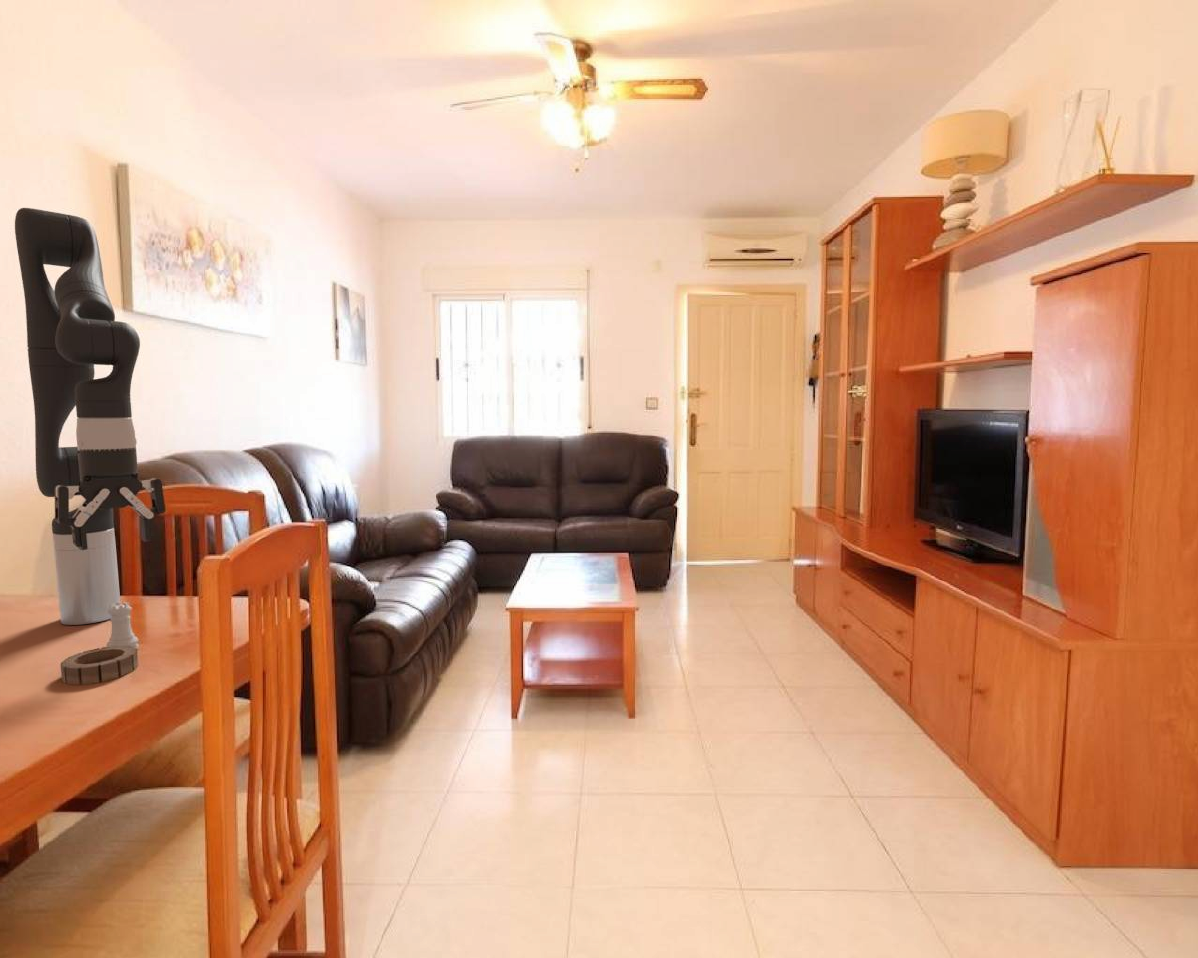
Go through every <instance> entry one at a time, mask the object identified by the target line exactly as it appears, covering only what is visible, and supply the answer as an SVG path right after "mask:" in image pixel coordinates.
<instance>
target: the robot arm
mask: <svg viewBox="0 0 1198 958" xmlns="http://www.w3.org/2000/svg"><path fill="white" fill-rule="evenodd" d="M14 218H15V219H14V233H15V234H14V235H15V242H16V249H17V254H18V255H17V256H18V263H19V266H20V267H19V268H20V275H21V281H22V288H23V295H24V304H25V317H26V322H25V323H26V337H27V339H26V343H27V344H26V345H27V356H28V357H27V358H28V365H29V366H28V368H29V375H30V382H31V389H32V390H31V391H32V397H33V398H32V399H33V407H34V409H33V410H34V427H35V428H34V430H35V431H34V432H35V435H34V437H35V438H34V439H35V440H34V441H35V444H34V445H35V475H36V476H35V477H36V482H37V486H38V489H39V491H40V493H41V494H42V496H44V497H47V498H54V518H53V519H52V520H51V521H52V522H51V530H52V541H53V542H52V543H53V544H52V545H53V549H54V550H53V551H54V563H55V574H56V575H55V576H56V582H57V585H56V586H57V594H58V596H57V597H58V606H59V607H58V608H59V614H60V615H59V616H60V623H61V624H63V625H65V626H67V625H68V626H71V625H72V626H73V625H74V626H75V625H76V626H77V625H87V624H93V623H99V622H104V621H109V620H111V618H112V616H111V615H110V614H109V613H108V611H109V609H110V606H111V605H112V604H115V606H117V605H116V603H120V604H121V595H120V594H121V593H120V581H119V569H118V558H117V557H118V556H117V548H116V545H117V544H116V536H115V533H116V532H115V523H114V508H116V509H124V508H126V507H128V506H129V508H131V509H133V511H135V512H136V513H137V514H138V515H139V516H140V518H139V528H140V529H139V530H140V539H141V541H143V542H150V541H151V538H153V537H154V535H155V530H154V518H155V517H156V516H158V515H160V514H161V515H162V514H165V512H166V510H167V509H166V503H165V497H164V490H163V482H162V480H161V479H160V478H154V477H151V478H149V479H145V480H141V479H140V477H139V471H138V470H139V469H138V458H137V457H138V455H137V443H138V442H137V439H136V431H135V427H134V423H133V418H132V413H133V412H132V403H131V402H132V401H131V388H132V387H131V385H132V379H133V374H134V370H135V367H136V363H137V360H138V357H139V352H140V347H141V339H140V336H139V335H138V332H137V331H136V329H135V328H134V327H133V326H132V325H131V324H129V323H127V322H123V321H116V316H115V310H114V308H113V305H112V303H111V300H110V297H109V295H108V293H107V289H106V287H105V282H104V272H103V265H102V259H101V254H100V248H99V247H100V246H99V241H98V237H97V234H96V231H95V229H94V227H93V225H92V224H91V223H90V221H88V220H87V219H85V218H83V217H80V216H76V215H71V214H67V213H62V212H61V213H60V212H55V211H49V210H44V209H39V208H38V209H37V208H31V207H22V208H19V209H18V210H17V212H16V214H15V217H14ZM44 265H48V266H54V267H55V266H57V267H65V268H68V269H67V270H65V271H64V272H63V273H62V274H61V275H60V276H59V278H58V279H57V280H56V281H55V286H54V288H53V287H52V285H51V283H50V280H49V278H48V275H47V273H46V270H45V266H44ZM95 365H96V366H98V365H99V366H112V370H111V372H110V373H109V375H106V376H105V377H100V378H96V379H95V375H96V374H95ZM74 409H75V411H76V412H75V413H76V417H77V418H76V432H75V434H76V446H63V447H62V446H60V444H59V443H60V437H61V434H62V430H63V428H64V425H65V424H66V421H67V420H68V418H69V416H70V414H71V412H72V411H73V410H74ZM142 488H144V489H145V491H146V492H148V493H149V496H150V504H151V507H150V508H148V507H147V506H146V505H145V503H144V502H143V501H141V499H140V498H138V497H137V495H138V494H139V493H140V491H141V490H142ZM76 496H81V497H83V499H84V501H83V502H82V503H81V504H80V505H79V507H77V508H75V509H72V510H71V511H70V502H69V501H70V500H72V499H74V497H76Z"/></svg>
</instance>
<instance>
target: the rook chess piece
mask: <svg viewBox="0 0 1198 958" xmlns="http://www.w3.org/2000/svg"><path fill="white" fill-rule="evenodd" d="M116 605H117V606H115V604H112V605H111V606H110V609H109V611H108V613H109V614H110V615H111V616H112V618H111V619H109V622H111V633H110V637H109V640H108V641H107V643H106V646H105V647H111V646H117V647H118V646H131V647H134V648H136V649H137V650H138V648H139V647H140V644H138V642H139V639H138V637H137V636H135V635H136V634H135V633H134V632H133V628H132V626H131V618H132V616H131V615H130V612H132V609H133V607H131V606H130V602H127V601H124V602H122V604H121V602H120V603H116Z"/></svg>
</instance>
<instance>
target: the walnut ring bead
mask: <svg viewBox="0 0 1198 958" xmlns="http://www.w3.org/2000/svg"><path fill="white" fill-rule="evenodd" d="M138 666H139V658H138V649H136V648H134V647H131V646H118V647H117V646H111V647H107V646H103V647H101V648H99V647H98V648H92V649H90V650H89V649H88V650H85V651H83V652H79V653H76V654H74V655H70V656H69V657H67V658H65V659H64V660H63V661H61V662H60V672H61V673H60V674H61V681H62V682H63V683H64V684H67V685H75V686H80V685H82V686H83V685H91V684H97V683H100V682H101V683H103V682H107V681H110V680H115V679H117V678H119V677H124V676H125V675H128V674H130V673H132V672H134V671H136V669H137V668H138Z"/></svg>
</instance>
